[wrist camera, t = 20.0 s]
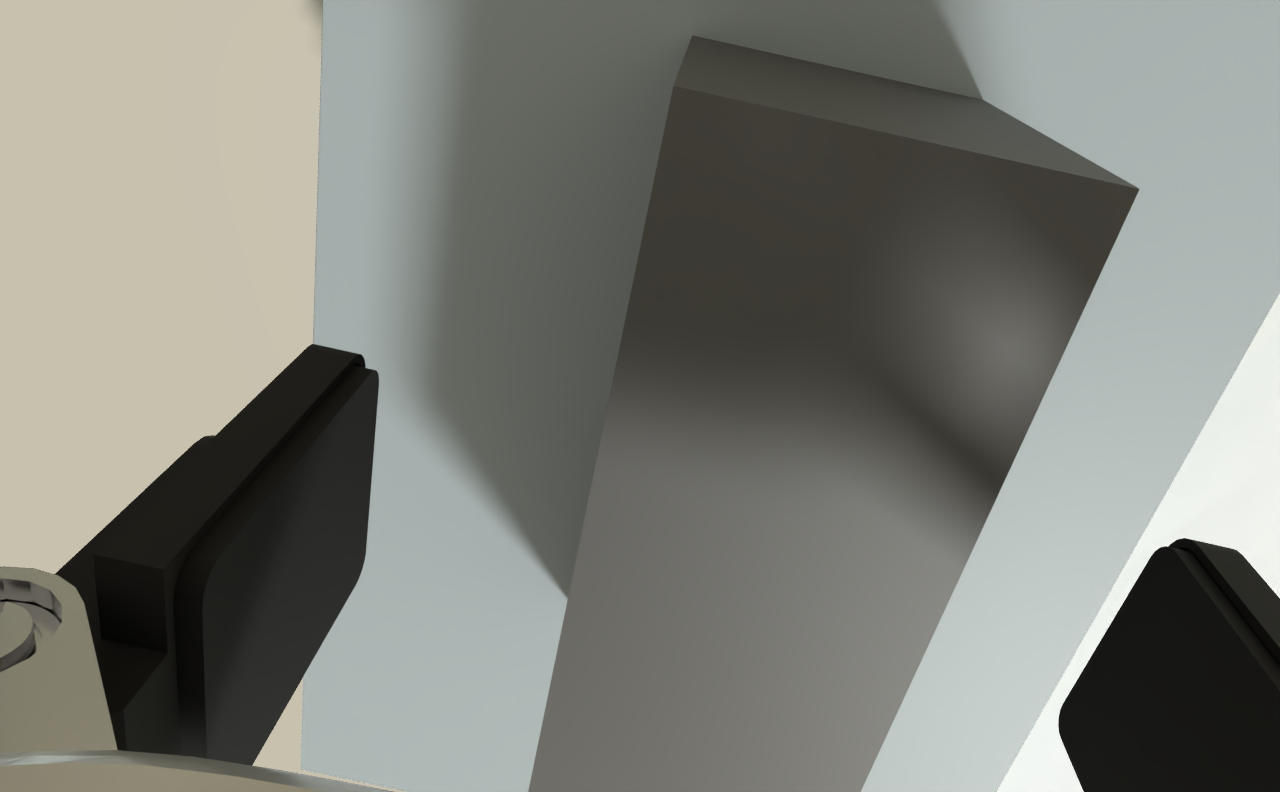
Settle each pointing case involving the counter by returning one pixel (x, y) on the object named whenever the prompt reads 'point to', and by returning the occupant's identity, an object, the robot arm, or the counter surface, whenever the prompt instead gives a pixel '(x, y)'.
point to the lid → (767, 370)
